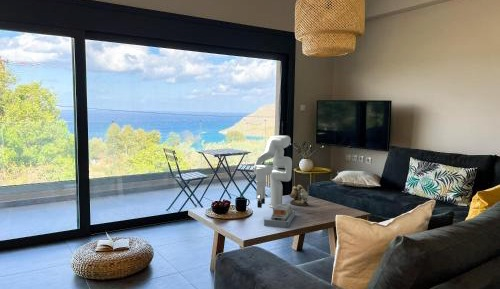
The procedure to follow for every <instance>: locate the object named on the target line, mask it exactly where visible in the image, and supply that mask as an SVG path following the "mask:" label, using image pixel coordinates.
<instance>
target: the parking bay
mask: <svg viewBox="0 0 500 289" xmlns="http://www.w3.org/2000/svg"><path fill="white" fill-rule="evenodd" d="M274 209H275V208H272V213H273V212H274ZM291 210H292V212H291V214H290V216H289V217H288V219H287V221H278V220H271V219H267V218H266V219H265V218H264V220H263V226H266V227H267V226H269V227H276V228H279V227H280V228H285V229H286V228H287V229H288V228H290V225H291V223H292V221H293V219H294V217H295V216H296V210H295V209H291Z"/></svg>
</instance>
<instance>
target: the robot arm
mask: <svg viewBox="0 0 500 289" xmlns="http://www.w3.org/2000/svg"><path fill="white" fill-rule="evenodd" d="M291 140H292V139H291V137H290V135H283V134H282V135H281V134H280V135H279V134H278V135H277V134H273V135H270V137H269V139H268V140H267V143H266V146H265V149H264V152H263V153H262V154H261V155H259V156H258V157H257V158H256V160H255V162H254V166H253V172H254V174H255V186H256V192H255V194H256V196H255V199H256V200H257V208H259V209H262V208H263V207H262V206H263V205H265V204H266V200H265V198H266V197H265V196H266V186H267V176H270V177H269V178H270V189H271V190H270V204H268V207H269V208H271V209H273V208H276V207H277V206H278V205H279V204H283V190H284V188H283V184H282V182H290V181H291V179H292V170H293V159H292V158H291V157H289V156H284V155H285V150H284V149H285V148H286V149H287V148H288V147H289V146H290V144H291ZM271 159H272V166H273V167H275V168H273V167H272V166H271V165H269V164H262V163H263V162H265V161H268V160H271Z"/></svg>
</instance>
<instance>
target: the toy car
mask: <svg viewBox="0 0 500 289" xmlns="http://www.w3.org/2000/svg"><path fill="white" fill-rule="evenodd" d="M292 210H293V209H292V204H290V203H289V204H287V203H282V204H279V205H278V206H277V207H276V208H275V209H274V212H273V211H272V214H271V216H270V220H278V221H287V219H288V217H289V216H290V214H291V212H292Z"/></svg>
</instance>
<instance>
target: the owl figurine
mask: <svg viewBox="0 0 500 289" xmlns="http://www.w3.org/2000/svg"><path fill="white" fill-rule="evenodd" d="M291 189H292V191H291V193H290V194H289V195H288V196H289V197H290V198H291V200H290V202H289V205H291V206H296V207H308V206H309V203H308V201H309V200H308V198H309V193H308V192H307V191H306V189H305V188H304V187H303V186H302V185H301V184H298V185H297V186H292V188H291Z"/></svg>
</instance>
